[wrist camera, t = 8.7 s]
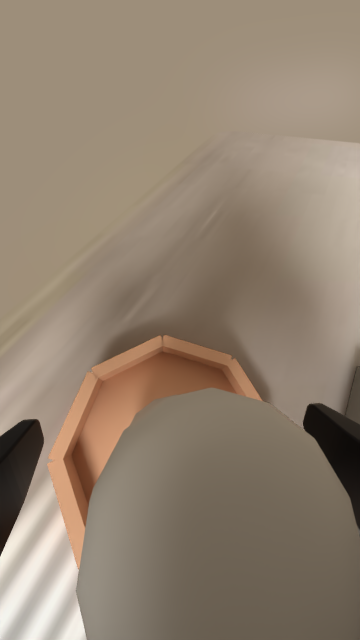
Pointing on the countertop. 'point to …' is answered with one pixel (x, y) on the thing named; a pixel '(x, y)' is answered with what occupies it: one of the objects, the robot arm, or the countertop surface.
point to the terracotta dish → (127, 413)
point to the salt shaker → (219, 529)
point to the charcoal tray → (354, 402)
